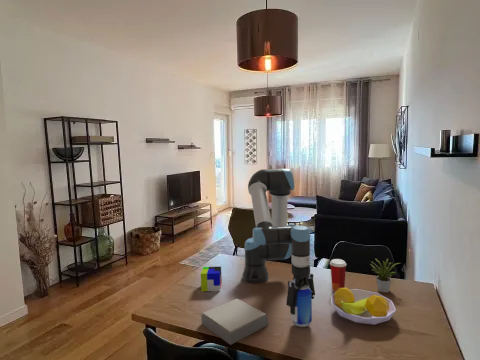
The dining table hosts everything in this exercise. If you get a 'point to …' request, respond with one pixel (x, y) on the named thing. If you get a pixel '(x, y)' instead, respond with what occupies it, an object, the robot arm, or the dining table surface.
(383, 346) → the dining table surface
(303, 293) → the beer can
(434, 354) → the dining table surface
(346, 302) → the fruit bowl
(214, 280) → the puzzle toy
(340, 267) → the coffee cup
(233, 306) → the plinth
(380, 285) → the house plant
